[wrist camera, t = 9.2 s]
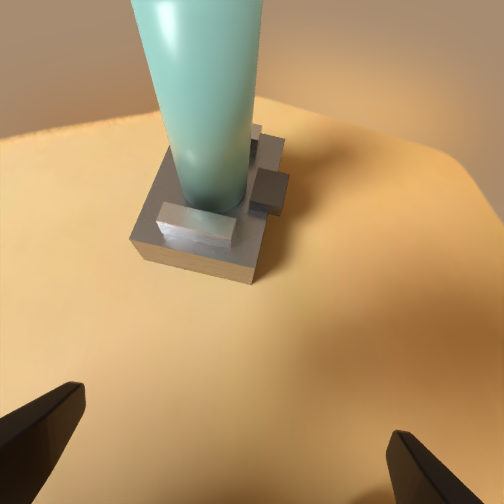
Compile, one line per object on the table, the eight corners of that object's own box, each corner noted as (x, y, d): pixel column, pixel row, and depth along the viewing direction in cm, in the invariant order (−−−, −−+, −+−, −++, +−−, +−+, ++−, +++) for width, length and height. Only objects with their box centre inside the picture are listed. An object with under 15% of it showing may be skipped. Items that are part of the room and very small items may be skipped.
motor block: (261, 287, 24) (271, 262, 19) (144, 259, 24) (120, 227, 19) (286, 171, 29) (300, 124, 23) (188, 148, 29) (179, 97, 23)
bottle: (221, 224, 21) (206, -5, 8) (167, 189, 22) (78, -68, 9) (259, 179, 23) (295, -69, 10) (208, 148, 24) (181, -118, 11)
